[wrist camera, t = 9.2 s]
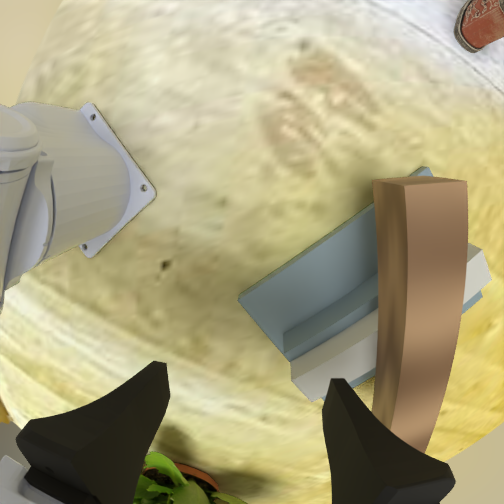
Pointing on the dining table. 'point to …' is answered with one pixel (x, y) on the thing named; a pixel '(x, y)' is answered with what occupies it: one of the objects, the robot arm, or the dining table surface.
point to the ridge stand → (335, 304)
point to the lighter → (479, 24)
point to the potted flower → (176, 484)
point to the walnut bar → (418, 298)
